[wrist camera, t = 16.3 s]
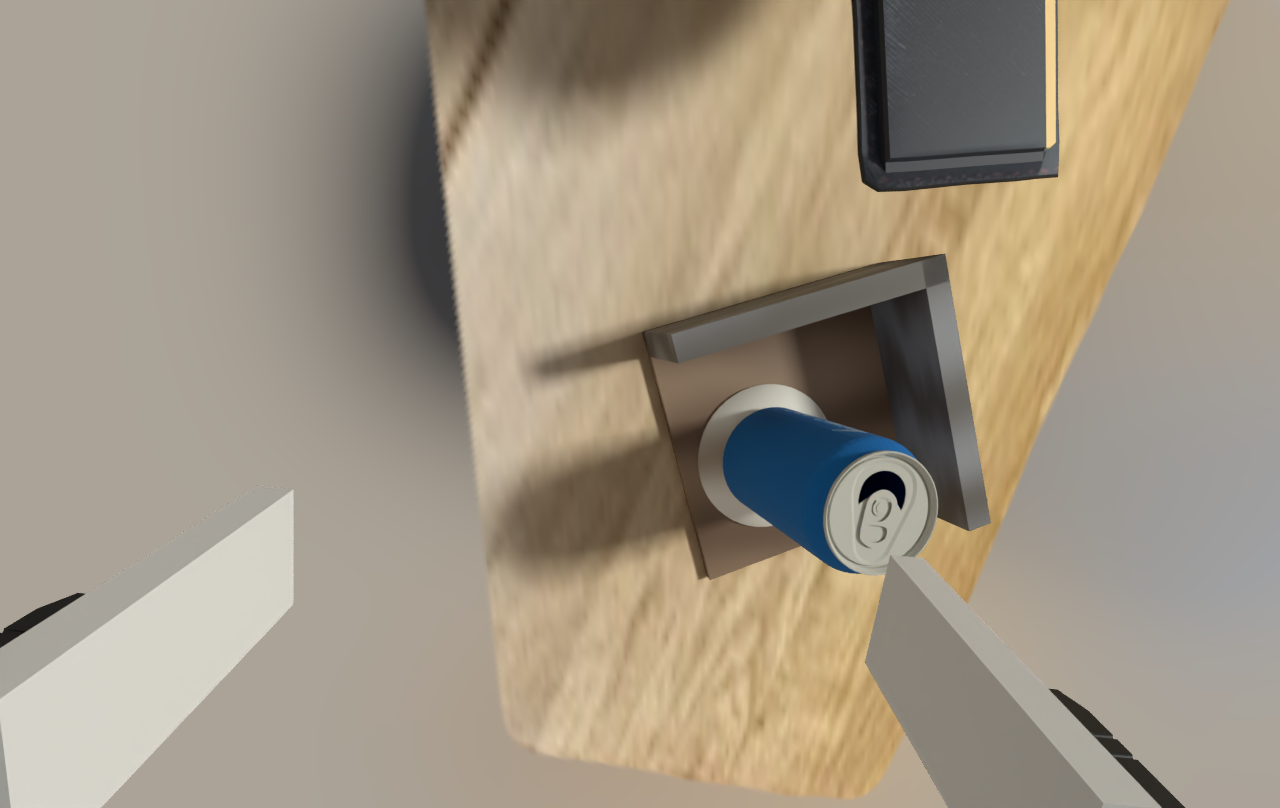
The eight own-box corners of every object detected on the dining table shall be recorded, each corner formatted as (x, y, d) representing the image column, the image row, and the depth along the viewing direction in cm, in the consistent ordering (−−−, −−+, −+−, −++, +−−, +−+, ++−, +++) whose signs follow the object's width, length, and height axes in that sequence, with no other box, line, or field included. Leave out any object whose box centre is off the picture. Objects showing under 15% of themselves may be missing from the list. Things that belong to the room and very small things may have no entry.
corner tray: (642, 331, 38) (671, 334, 32) (879, 262, 41) (945, 253, 35) (707, 576, 41) (744, 619, 35) (923, 495, 44) (990, 522, 38)
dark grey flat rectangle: (856, -188, 35) (1082, -165, 39) (837, -163, 37) (1055, -143, 41) (864, 189, 38) (1074, 180, 42) (847, 195, 40) (1049, 185, 44)
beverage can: (824, 414, 40) (961, 452, 29) (802, 513, 41) (928, 591, 29) (729, 397, 39) (834, 431, 27) (708, 500, 39) (802, 577, 28)
